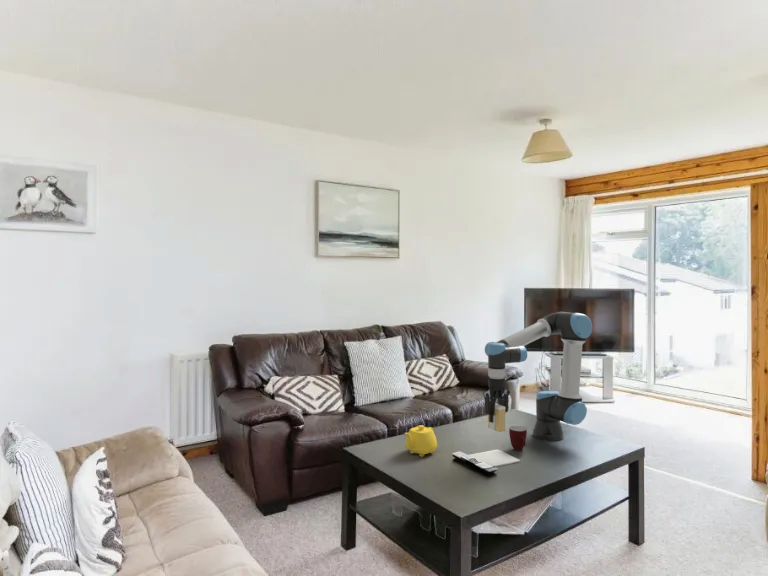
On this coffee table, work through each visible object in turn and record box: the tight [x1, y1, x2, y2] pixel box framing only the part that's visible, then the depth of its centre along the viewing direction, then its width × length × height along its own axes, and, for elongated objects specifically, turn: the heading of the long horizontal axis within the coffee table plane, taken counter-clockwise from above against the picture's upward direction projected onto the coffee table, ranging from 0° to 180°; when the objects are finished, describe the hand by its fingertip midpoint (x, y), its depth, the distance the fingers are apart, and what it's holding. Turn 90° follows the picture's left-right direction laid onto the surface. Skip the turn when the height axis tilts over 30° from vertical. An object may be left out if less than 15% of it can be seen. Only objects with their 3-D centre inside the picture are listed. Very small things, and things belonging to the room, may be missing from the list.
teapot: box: [404, 424, 438, 458], centre depth 234 cm, size 14×20×13 cm
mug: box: [508, 425, 528, 452], centre depth 238 cm, size 10×8×10 cm
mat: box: [468, 449, 521, 468], centre depth 226 cm, size 21×16×1 cm
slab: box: [487, 402, 506, 433], centre depth 227 cm, size 4×8×11 cm, turn 25°
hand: (496, 428), depth 227 cm, fingers closed on slab, 3 cm apart
